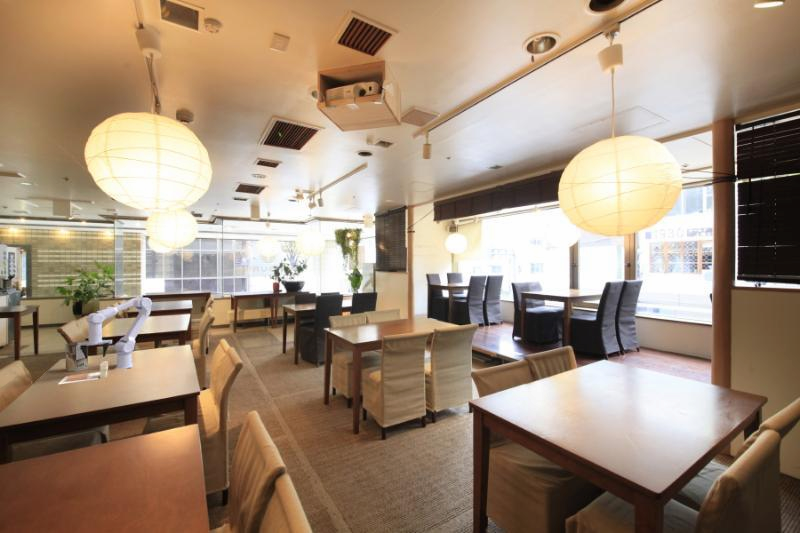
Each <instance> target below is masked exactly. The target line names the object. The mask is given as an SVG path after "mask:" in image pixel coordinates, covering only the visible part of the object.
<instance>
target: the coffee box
mask: <svg viewBox="0 0 800 533" xmlns="http://www.w3.org/2000/svg"><path fill="white" fill-rule="evenodd" d="M78 343H81V341H75V342H74V341H73V342H70V343H66V344H65V347H64V348H65V371H70V372H79V371H83V370H87V369H89V357H88V358H87V359H85V356H84V353H83V352H82V350H81V349H80V347H78Z"/></svg>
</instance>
